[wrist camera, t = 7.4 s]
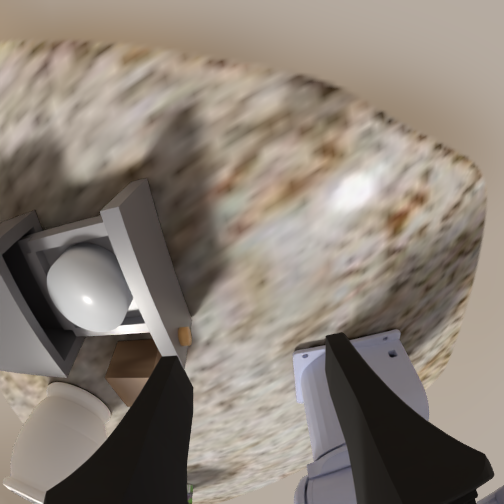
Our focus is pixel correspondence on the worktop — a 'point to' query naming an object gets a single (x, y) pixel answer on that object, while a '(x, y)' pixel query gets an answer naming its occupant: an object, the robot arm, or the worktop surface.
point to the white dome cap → (89, 287)
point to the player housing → (29, 312)
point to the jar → (56, 440)
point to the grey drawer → (124, 267)
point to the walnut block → (132, 367)
